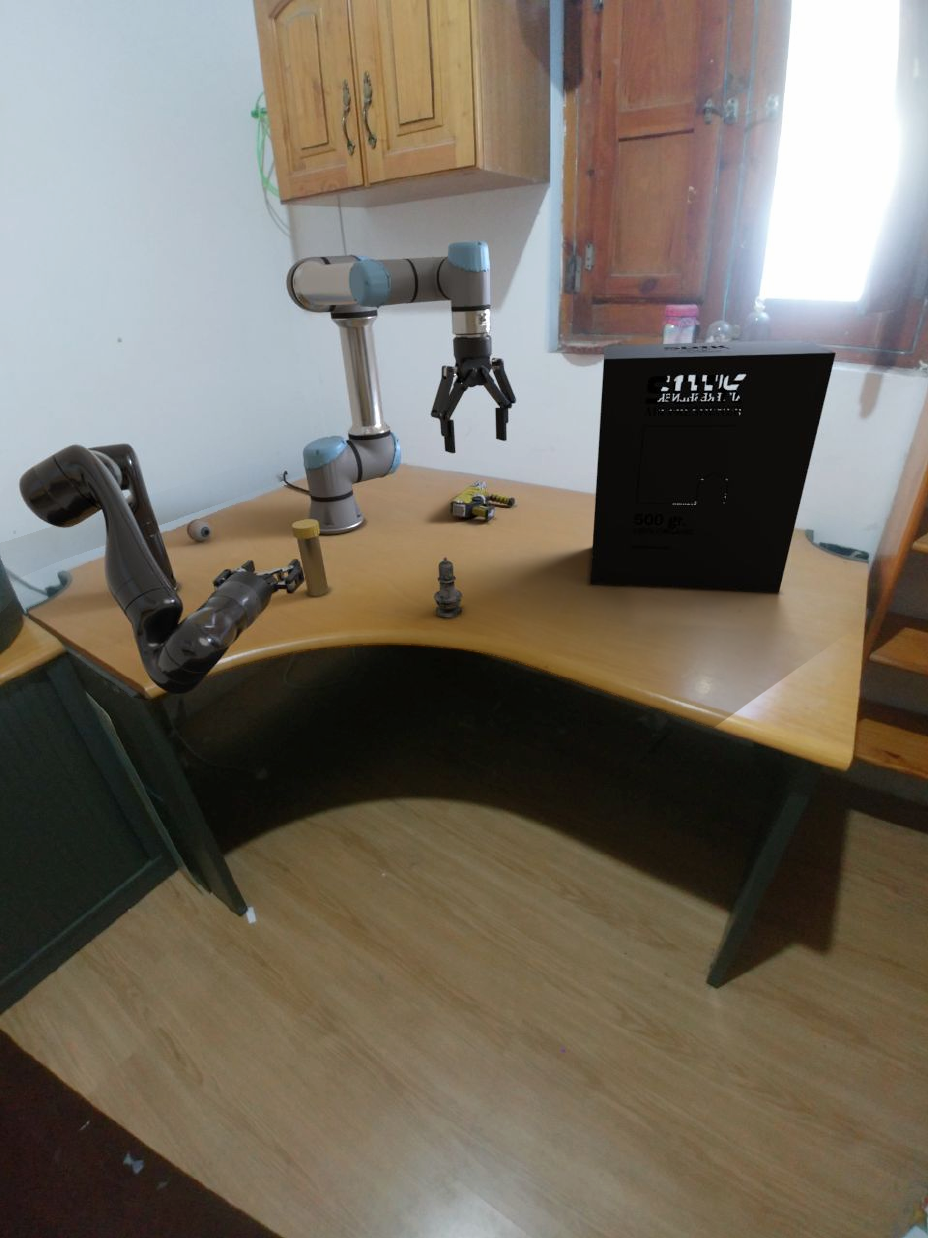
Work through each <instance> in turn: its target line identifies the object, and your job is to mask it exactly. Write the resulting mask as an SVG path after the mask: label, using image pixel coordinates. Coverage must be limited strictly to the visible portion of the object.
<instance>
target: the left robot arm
mask: <svg viewBox="0 0 928 1238" xmlns="http://www.w3.org/2000/svg"><path fill="white" fill-rule="evenodd" d="M18 488H19V489H18V490H19V493H20V496H21V498H22V501H23V502H24V503H25V505H26V507H27V508H28V509H29V510H30V511H31V512H32V513H33V514H34V515H35V516H36V517H37V518H39V519H40V520H42V521H43V522H45V523H47V524H49V525H51V526H52V527H53V526H54V527H57V528H62V529H64V528H66V529H68V528H72V527H74V526H78V525H80V524H81V523H82V522H84V521H86V520H87V519H89V518H91V517H92V516H93V515H96V514H97V513H98V512H100V511H102V514H103V519H104V525H105V547H104V548H105V550H104V575H105V581H106V584H107V587H108V590H109V592H110V593H111V595H112V597H113V598H114V600H115V601H116V603H117V605H118V606H119V608H120V609H121V611H122V612H123V614H124V616H125V618H126V619H127V620H128V621H129V624H130V625H131V627H132V632H133V636H134V640H135V641H134V642H135V643H136V647H137V651H138V653H139V657H140V660H141V663H142V665H143V668H144V670H145V672H146V675H147V676H148V677H149V678H150V680H151V681H152V682H153V683H154V684H155V685H156V686H157V687H159V688H160V689H161V690H163V691H165V692H167V693H169V694H174V695H185V694H188V693H189V692H191V691H193V690H194V689H195V688H197V686H199V684H200V683H202V681H203V680H204V679H205V677H207V675H208V674H209V673H210V672H211V671H212V670H213V668H215V666H216V665H217V664H218V663H219V661H220V660H221V659H222V658H223V657H224V656H225V654H226V653H227V651H228V650H229V649H230V647H231V646H232V645H233V644H234V643H235V642H236V641H237V640H238V639H239V638H240V636H241V635H242V634H243V633H244V632H245V631H246V630H248V629H249V628H250V627H251V626H252V625H253V624H254V623H255V621H256V620H257V619H258V618H259V617H260V615H261V614H262V613H263V612H264V611H265V610H266V608H268V606H269V605H270V603H271V599H272V596H273V595H274V594H276V593H277V592H278V591H279V590H286V594H288V595H290V594H294V593H295V592H296V591H297V590H298V588H300V587H301V586H302V584H303V583H304V582H306V580H305V575H304V571H303V566H302V563H301V561H299V559H298V558H293V559H292V560H290V562H289V563H288V564H287V566H285V567H282V568H280V567H275V568H271V569H269V570H267V571H260V572H256V567H255V563H254V560H253V559H251V560H249V559H248V560H247V561H246V562H245V563H243V564H242V565H241V566H238V567H235V568H234V570H231V568H225V569H223V570H222V571H221V572H220V573H219V574H218V575H217V576H216V577H215V578H214V579H213V581H212V584H213V585H212V586H213V589H214V590H213V592H212V593H211V594H210V595H209V597H208V598H207V600H206V601H205V602H204V603H203V604H202V605H201V606H199V607H198V608H197V609H196V610H195V611H194V612H192V613H191V614H189V615H187V616H186V617H185V618H184V619H182V615H183V612H184V603H183V600H182V599H181V597H180V595H179V594H178V592H177V590H178V589H179V584H178V582H177V579H176V572H175V571H174V569H173V567H172V563H171V561H170V558H169V555H168V551H167V548H166V545H165V543H164V539H163V536H162V533H161V529H160V527H159V524H158V522H157V517H156V514H155V512H154V509H153V506H152V502H151V500H150V497H149V494H148V490H147V486H146V483H145V479H144V476H143V470H142V468H141V464H140V460H139V458H138V455H137V452H136V451H135V448H133V446H132V445H131V444H129V443H126V442H125V443H124V442H123V443H115V444H114V443H113V444H107V445H106V444H105V445H100V446H99V445H98V446H92V447H91V446H90V447H86V446H84V445H82V444H77V443H75V444H70V445H68V446H66V447H64V448H62V449H60V450H59V451H57V452H55V453H53V454H52V455H50V456H48V457H46V458H45V459H43V460H42V461H40V462H38V463H36V464H35V465H33V466H31V467H30V468H29V469H27V470H26V471H25V472H24V473H23V474H22V475H21V477H20V478H19V481H18ZM124 491H128V492H129V495H128V496H127V497H125V495H124V493H123V492H124ZM285 573H287V575H286V576H285ZM274 575H276V576H274ZM181 619H182V620H181Z"/></svg>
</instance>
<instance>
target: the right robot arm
mask: <svg viewBox="0 0 928 1238" xmlns="http://www.w3.org/2000/svg"><path fill="white" fill-rule="evenodd" d="M490 263H491V262H490V252H489V245H488V244H487V242H485V241H484V240H466V241H455V242H451V243H450V244H449V245H448V247H447V256H431V257H430V256H427V257H413V258H411V257H410V258H391V259H390V258H386V259H374V258H370V257H369V256H367V255H358V254H349V255H328V256H326V255H325V256H310V257H305V258H302V259H300V260H298V261H296V262H295V263H293V265H291V267H290V268H289V269H288V272H287V275H286V281H285V282H286V283H285V284H286V285H285V286H286V290H287V293H288V296H289V297H290V299H291V300H292V303H294V304H295V305H296V306H298V307H299V308H300V309H302V310H304V311H306V312H310V313H318V314H319V313H320V314H321V313H330V320H331V321H332V322H333V323H334V324H335V325H336V326H337V327H338V332H339V333H338V334H339V339H340V347H341V355H342V361H343V369H344V375H345V382H346V383H345V384H346V389H347V396H348V404H349V410H350V418H351V425H350V426H349V428H348V430H347V436H348V439H345V437H343V436H341V435H332V436H324V437H321V438H318V439H315V440H312V441H311V442H309V443H308V444H306V445H305V446H304V448H303V450H302V457H303V459H302V460H303V467H304V471H305V476H306V481H307V486H308V489H305V488H302V487H299V486H296V485H294V484H292V483H290V482H289V481H288V480H287V479H286V475H288V471H287V470H284V471H283V475H282V476H283V477H282V478H283V481H284V483H285V484H286V485H288V486H289V487H290V488H294V489H296V490H299V491H301V492H304V493H308V494H309V498H310V507H309V513H308V519H314V520H317V521H318V523H319V528H320V533H319V535H323V536H324V535H325V536H327V535H329V536H331V535H339V534H340V535H341V534H345V533H350V532H353V531H355V530H357V529H359V528H361V527H362V526H363V525H364V523H365V519H364V514H363V512H362V510H361V508H360V505H359V504H358V501H357V500H356V498H355V495H354V489H353V485H354V484H355V485H356V484H359V483H363V482H368V481H371V480H375V479H381V478H385V477H387V476H390V475H392V474H394V473H396V472H397V470H398V469H399V467H400V465H401V462H402V446H401V443H400V441H399V437H398V436H397V435H396V434H395V432H394V431H391V426H390V425H388V423H386V422H385V420H384V419H385V418H384V410H383V402H382V393H381V385H380V377H379V368H378V367H379V366H378V358H377V349H376V341H375V331H374V324H375V322H376V320H377V319H378V317H379V314H378V309H379V308H381V307H385V306H394V305H403V304H405V305H406V304H417V303H419V304H420V303H427V302H428V303H429V302H444V301H448V302H449V301H450V311H451V313H450V314H451V315H450V316H451V334H453V335H454V337H453V339H452V350H453V358H454V359H455V363H454V366H452V365H442V366H441V373H440V374H441V375H440V376H441V377H440V381H439V384H438V388H437V390H436V395H435V398H434V401H433V404H432V407H431V411H430V416H431V418H435V419H438V421H439V426H440V435H441V437H443V441H444V442H443V443H444V452H446V453H450V454H456V433H455V420H454V419H451V418H452V416H453V414H454V413H455V410H456V409H457V406H458V404H459V402H460V401H461V399H462V397H463V396H464V393H465V392H466V391H468V389H469V388H474V387H477V386H478V387H482V386H483V387H484V389H485V390H486V391H487V392H488V394H489V396H491V398H492V399H493V401H494V402H495V403H496V405H497V406H498V407H495V408H494V410H495V411H494V413H495V414H494V415H495V439H496V440H499V441H502V442H507V441H508V438H507V435H508V433H507V424H509V410H510V409H512V407H513V404H516V403H517V398H516V394H515V393H514V390H513V388H512V385H511V383H510V380H509V378H508V375H507V373H506V370H505V363H504V362H505V361H504V359H503V358H499V357H493V358H491V356H492V354H493V346H492V344H493V343H492V340H493V339H492V336H491V335H489V333H491V332H492V315H491V314H492V312H491V311H492V309H491V264H490ZM491 370H492V374H493V376H494V378H493V376H492V375H491ZM455 377H456V378H455ZM454 378H455V380H454ZM495 381H496V383H497V384H496V383H495Z"/></svg>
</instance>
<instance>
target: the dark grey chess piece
mask: <svg viewBox="0 0 928 1238" xmlns="http://www.w3.org/2000/svg"><path fill="white" fill-rule="evenodd" d="M454 573H455V572H454V563H452V561H450V560H448V558H447V557H446V556H445V557H443V560H442V561H440V562H439V564H438V577H437V581H438V583H439V590H438V591H436V592H435V593H434V594H433V599H434V601H435V605H437V606H438V607H437V608H436V610H435V613H436V615H437V616H439V617H442V618H454V617H457V616H459V615H461V614H462V611H463V608H462V607H461V606H460V604H461V601H462V598H463V592H462V591H460V589H456V583H455V581H456V579H457V577H456V576H455V575H454Z"/></svg>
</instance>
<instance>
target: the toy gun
mask: <svg viewBox="0 0 928 1238" xmlns="http://www.w3.org/2000/svg"><path fill="white" fill-rule="evenodd" d="M486 487H487V482H486V481H485V480H483V481H482V482H481V480H477V481H476V482H474V483H473V484H472V485H469V486H468V487H467V488H466V489H465V490H463V491H462V492H461V493H460V494H459V495H457V496H456V497H455V498H454V499H453V500H451V502H450V503H449V504H450V505H449V513H450V515H451V516H454V518H458V519H459V518H460V519H461V518H471V517H474V516H477V517H481V518H485V521H487V522H488V521H490V520H491V519H493V518H494V517H495V511H496V509H495V508H496V507H495V506H494V505H492V504H491V505H490V506H489V505H488V504H487V503H489V502H490V501H491V502H492V503H499V504H502V505H507V506H508V507H513V506H514V505H515V503H516V499H515V498H514V497H511V496H509V497H508V496H506V495H505V496H504V495H501V494H497V493H491V495H490V494H489V492H488V491H487V489H485V488H486Z"/></svg>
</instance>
